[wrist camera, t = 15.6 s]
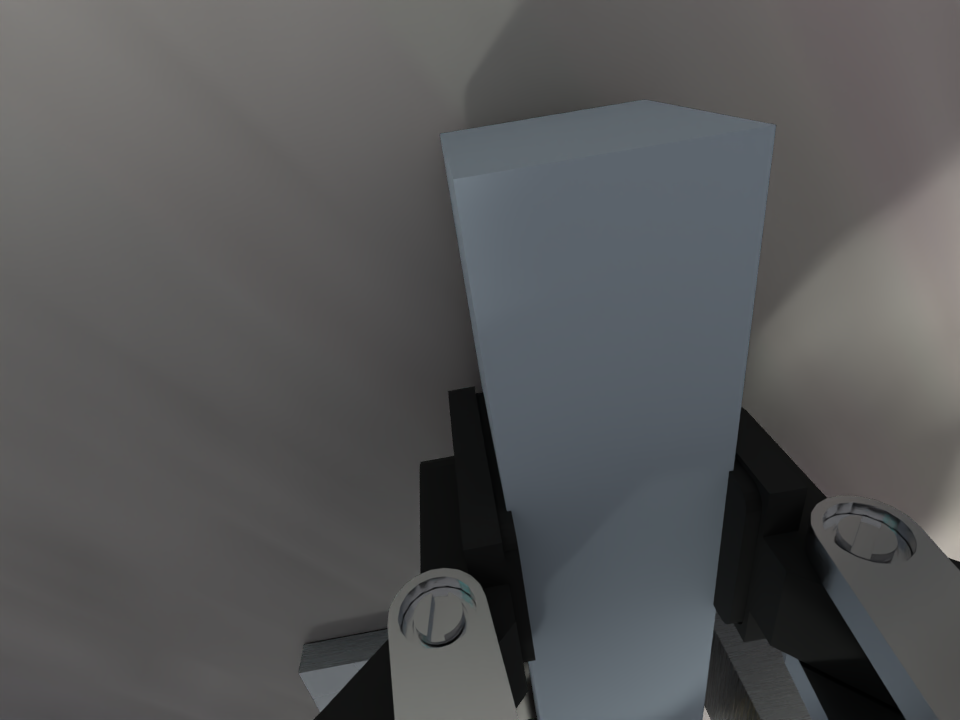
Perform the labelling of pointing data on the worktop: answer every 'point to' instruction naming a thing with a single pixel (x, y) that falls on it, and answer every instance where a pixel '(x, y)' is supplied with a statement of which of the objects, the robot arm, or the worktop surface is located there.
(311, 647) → the grey u-shaped bracket
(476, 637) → the robot arm
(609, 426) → the plug
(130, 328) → the worktop surface
